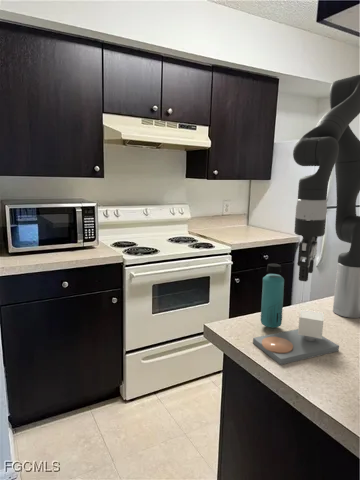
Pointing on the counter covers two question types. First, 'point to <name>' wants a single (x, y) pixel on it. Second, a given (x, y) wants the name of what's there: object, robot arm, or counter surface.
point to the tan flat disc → (277, 344)
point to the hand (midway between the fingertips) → (305, 276)
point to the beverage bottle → (272, 297)
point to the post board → (298, 346)
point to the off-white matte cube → (311, 323)
